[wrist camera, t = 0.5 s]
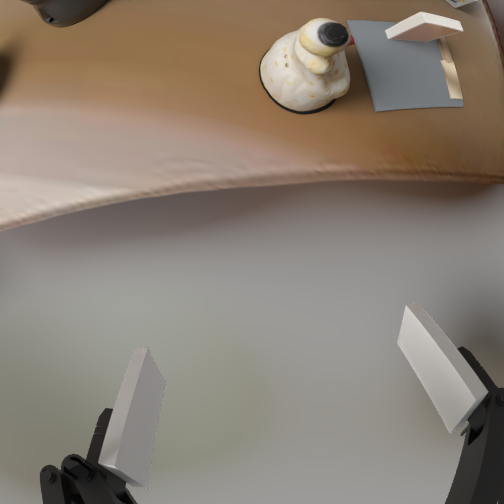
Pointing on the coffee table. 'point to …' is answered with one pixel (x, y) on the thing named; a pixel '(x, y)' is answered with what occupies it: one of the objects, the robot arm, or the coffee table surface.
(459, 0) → the container
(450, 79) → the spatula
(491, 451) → the robot arm
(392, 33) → the tile
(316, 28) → the figurine
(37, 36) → the coffee table surface
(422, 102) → the mat
